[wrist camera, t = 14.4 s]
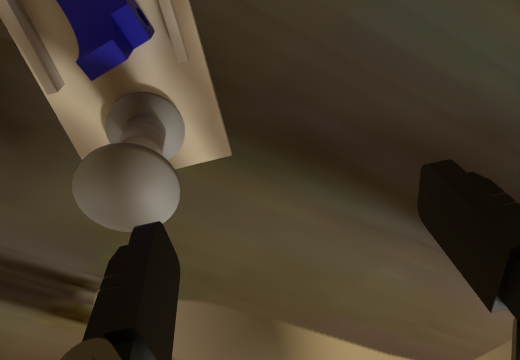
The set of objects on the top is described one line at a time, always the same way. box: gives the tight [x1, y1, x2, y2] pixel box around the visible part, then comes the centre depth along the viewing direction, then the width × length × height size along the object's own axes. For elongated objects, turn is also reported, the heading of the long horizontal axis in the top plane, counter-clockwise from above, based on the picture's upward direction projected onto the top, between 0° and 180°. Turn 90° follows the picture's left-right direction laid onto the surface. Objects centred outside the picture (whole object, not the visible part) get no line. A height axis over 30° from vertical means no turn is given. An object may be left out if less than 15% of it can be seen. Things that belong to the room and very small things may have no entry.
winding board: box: [0, 0, 232, 232], centre depth 24 cm, size 14×27×12 cm, turn 11°
